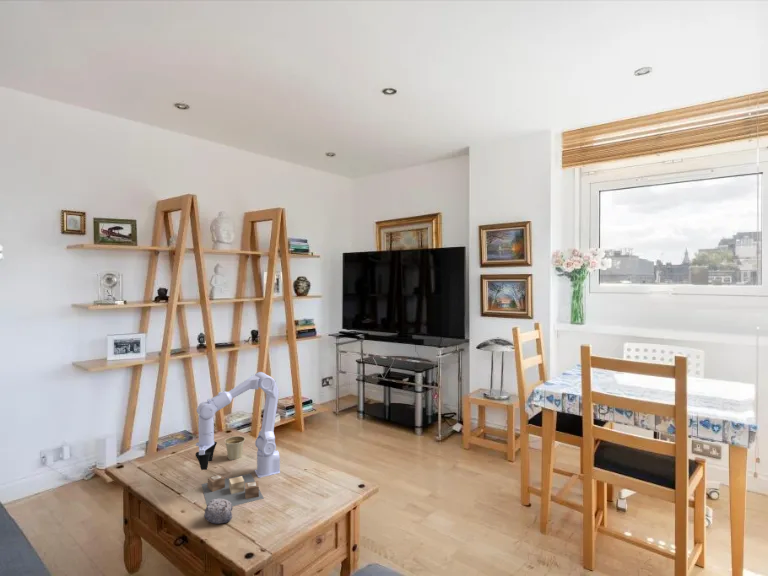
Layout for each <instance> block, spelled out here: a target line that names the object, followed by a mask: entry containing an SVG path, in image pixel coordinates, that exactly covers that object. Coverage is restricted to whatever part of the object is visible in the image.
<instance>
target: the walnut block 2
mask: <svg viewBox="0 0 768 576" xmlns="http://www.w3.org/2000/svg"><path fill="white" fill-rule="evenodd" d="M259 490H260V486H259V480H255V481H254V482H248V483H245V499H249V498H255V497H259Z"/></svg>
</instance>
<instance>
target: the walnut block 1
mask: <svg viewBox="0 0 768 576" xmlns="http://www.w3.org/2000/svg"><path fill="white" fill-rule="evenodd" d="M225 479H226V478H225V477H224V476H223V475H222V474H221V473H218V474H214V475H212V476H209V477H207V483H208V488H209V489H210V490H211V491H212V492H214V491H217V490H219V489H222V488H225Z"/></svg>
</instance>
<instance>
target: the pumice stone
mask: <svg viewBox="0 0 768 576" xmlns="http://www.w3.org/2000/svg"><path fill="white" fill-rule="evenodd" d="M232 511H233V506H232V503H230V501H228V500H226V499H213V500H211V501H210V502H209V503H208V505H207V504H206V507H205V509H204V514H203V517H204V518H205V520H206V521H207V522H209V523H211V524H216V525H218V524H226V523H228V522H230V521H231V520H232V518H233V513H232Z"/></svg>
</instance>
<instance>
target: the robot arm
mask: <svg viewBox="0 0 768 576" xmlns="http://www.w3.org/2000/svg"><path fill="white" fill-rule="evenodd" d="M249 390H262V391H263V392H264V393H265V402H264V408H263V409H264V410H263V417H262V423H261V429H260V431H259V432H258V435H257V438H256V439H255V442H254V443H255V447H256V448H257V451H256V469H255V470H254V473H255V474H256V476H257V478H258V479H261V478H264V477H269V476H273V475H278V474H280V473H281V462H280V461H281V460H280V458H281V457H280V452H279V450H278V449H277V445H276V436H275V432H274V430H275V423H276V422H275V421H276V417H277V410H278V402H279V395H280V389H279V388H278V385H277V383H276V380H275V379H274V378H273V377H272V376H270V375H268V374H266V373H265V372H263V371H258V372H257V373H255V374H253V375H251V376H249V377H248V378H247V379H246V380H244V381H242V382H240V383H239V384H238V385H236V386H235V387H233V388H232V389H230V390H229V391H225V390H224V391H219V392H217V394H216V395H215V396H214V397H212V398H208V399H207V401H202V402H200V403H199V404H198V406H197V408H196V412H197V415H198V442H196V443H195V446H196V447H198V451H196V453H195V458H196V460H197V461H198V463H199V467H200V469H201V471H205V470H208V466H209V462H212V461H213V458H214V453H215V450H216V446H217V444H218V442H217V441H215V428H214V427H215V425H214V424H215V423H214V422H215V420H214V416H215V415H216V412H218V411H220V410H221V409H224V408H225V407H226V406H228V405H230V404H231V403H232V400H233V399H234V398H236V397H239V396H240V395H242V394H243V393H246V392H248V391H249ZM276 449H277V450H276Z"/></svg>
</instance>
